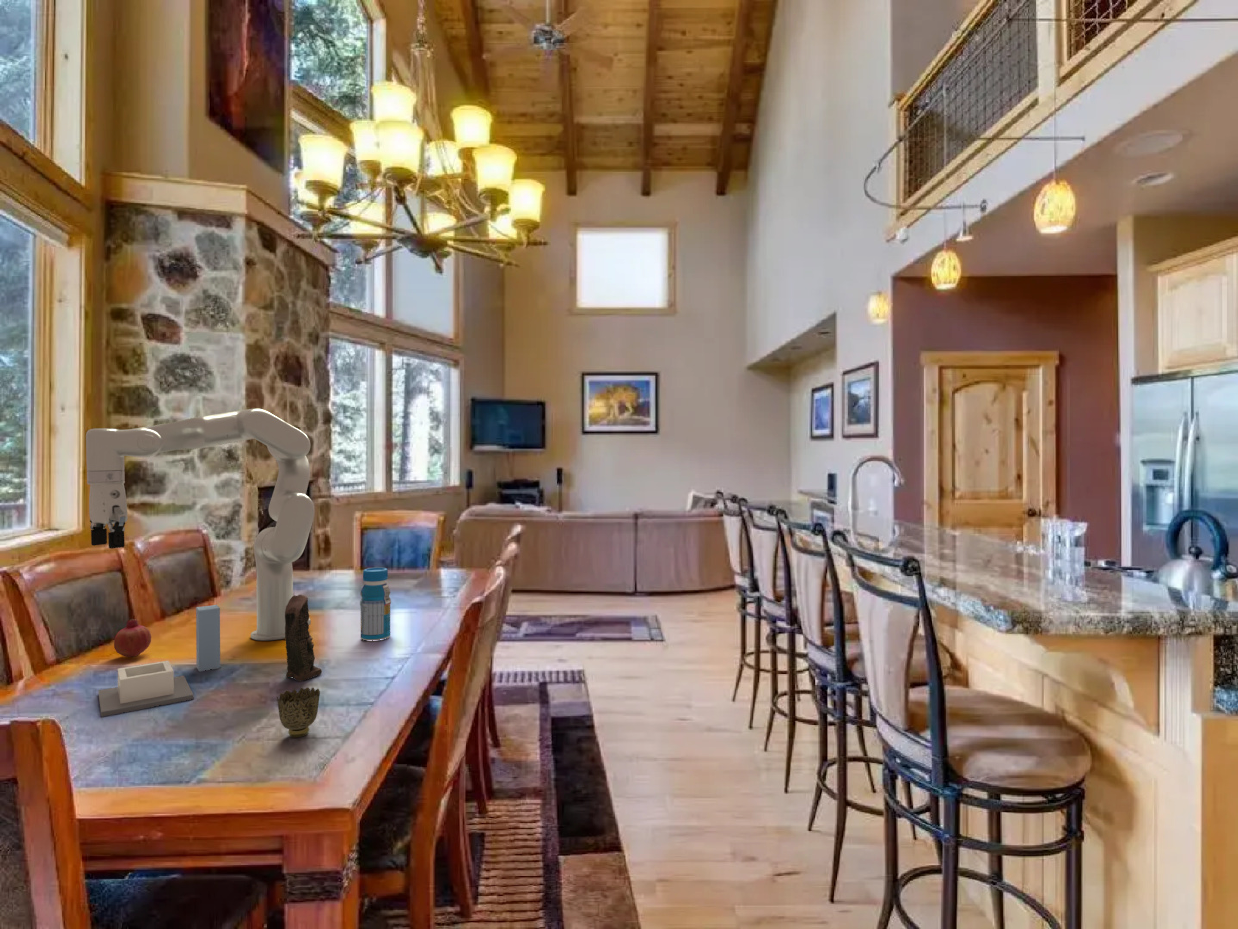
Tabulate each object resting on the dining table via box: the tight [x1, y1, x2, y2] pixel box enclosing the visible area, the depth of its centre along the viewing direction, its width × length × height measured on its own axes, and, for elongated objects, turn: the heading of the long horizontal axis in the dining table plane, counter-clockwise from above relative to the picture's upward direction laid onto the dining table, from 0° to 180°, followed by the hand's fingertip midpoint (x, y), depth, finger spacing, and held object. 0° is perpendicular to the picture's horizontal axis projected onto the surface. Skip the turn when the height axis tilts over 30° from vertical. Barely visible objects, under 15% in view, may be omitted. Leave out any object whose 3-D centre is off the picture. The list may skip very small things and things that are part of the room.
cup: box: [276, 687, 321, 739], centre depth 130 cm, size 8×7×8 cm
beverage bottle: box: [359, 567, 392, 642], centre depth 197 cm, size 8×8×20 cm
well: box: [97, 660, 194, 718], centre depth 150 cm, size 16×16×6 cm
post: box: [195, 604, 221, 673], centre depth 170 cm, size 4×4×15 cm
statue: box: [284, 594, 323, 682], centre depth 163 cm, size 7×7×20 cm
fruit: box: [113, 618, 152, 658], centre depth 178 cm, size 8×8×10 cm
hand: (107, 546), depth 171 cm, fingers open, 9 cm apart
